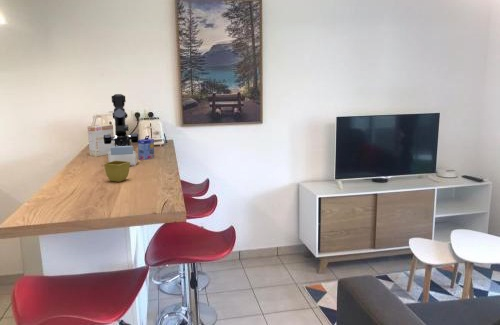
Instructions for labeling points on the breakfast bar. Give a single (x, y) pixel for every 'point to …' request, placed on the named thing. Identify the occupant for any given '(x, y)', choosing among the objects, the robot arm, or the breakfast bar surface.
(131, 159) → the carton
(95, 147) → the coffeecake box
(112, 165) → the flower pot
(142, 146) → the ink cartridge box
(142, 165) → the breakfast bar surface
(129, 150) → the flap
